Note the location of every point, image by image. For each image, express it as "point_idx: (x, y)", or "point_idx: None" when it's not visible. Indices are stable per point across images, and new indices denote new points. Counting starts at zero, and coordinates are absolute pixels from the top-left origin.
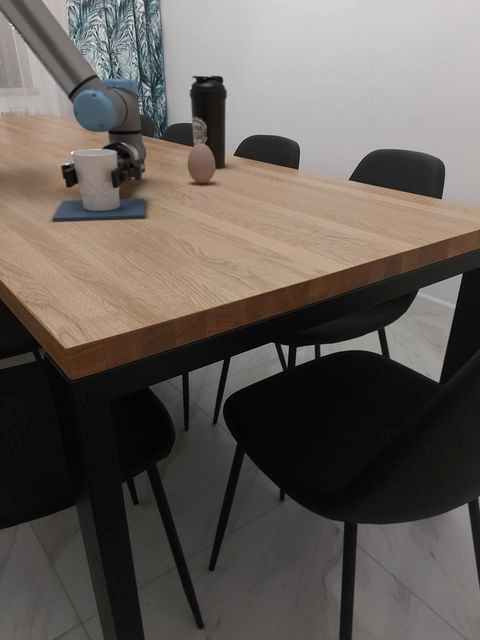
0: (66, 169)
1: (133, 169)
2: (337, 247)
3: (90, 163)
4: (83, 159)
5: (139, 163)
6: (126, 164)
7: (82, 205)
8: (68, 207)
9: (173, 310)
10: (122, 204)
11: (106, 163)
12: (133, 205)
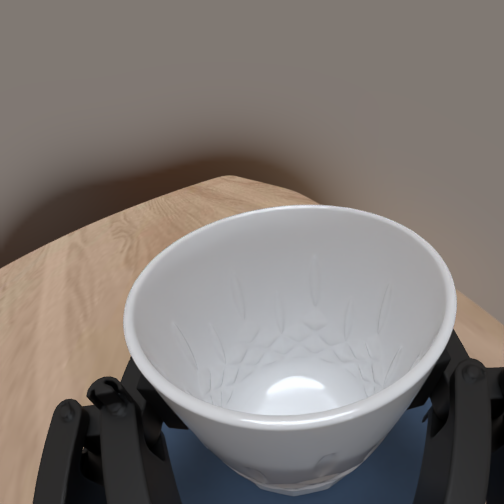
0: (489, 370)
1: (93, 412)
2: (23, 268)
3: (281, 241)
4: (310, 223)
5: (37, 500)
6: (110, 383)
7: (384, 448)
8: (414, 408)
9: (177, 193)
10: (225, 484)
11: (210, 266)
12: (181, 468)
